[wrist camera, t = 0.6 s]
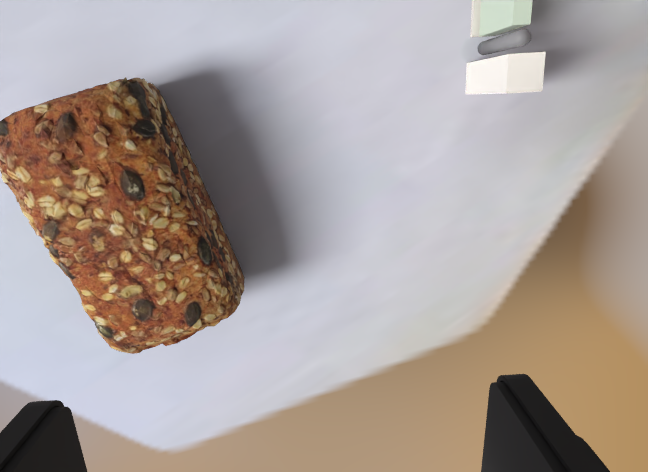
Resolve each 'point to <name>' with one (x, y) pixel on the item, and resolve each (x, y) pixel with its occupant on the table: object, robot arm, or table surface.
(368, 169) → the table surface
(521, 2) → the door
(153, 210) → the bread
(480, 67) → the door frame
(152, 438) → the table surface
